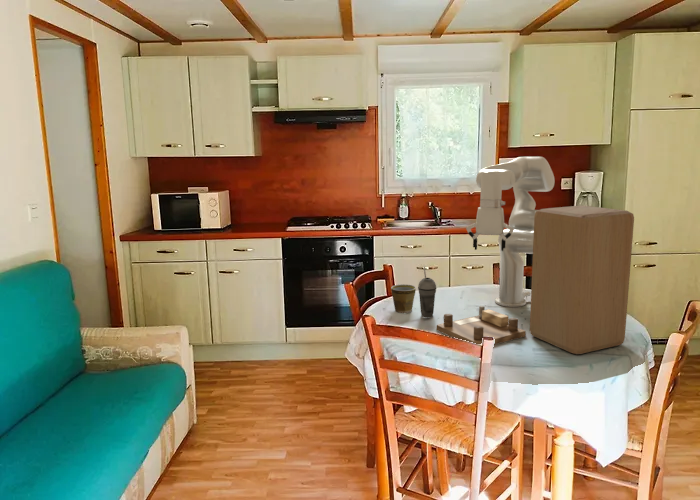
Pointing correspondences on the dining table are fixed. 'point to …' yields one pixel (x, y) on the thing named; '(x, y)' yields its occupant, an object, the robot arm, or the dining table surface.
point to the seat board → (486, 331)
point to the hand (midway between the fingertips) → (488, 249)
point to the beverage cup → (427, 296)
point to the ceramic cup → (403, 297)
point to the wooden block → (581, 277)
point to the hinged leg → (495, 318)
